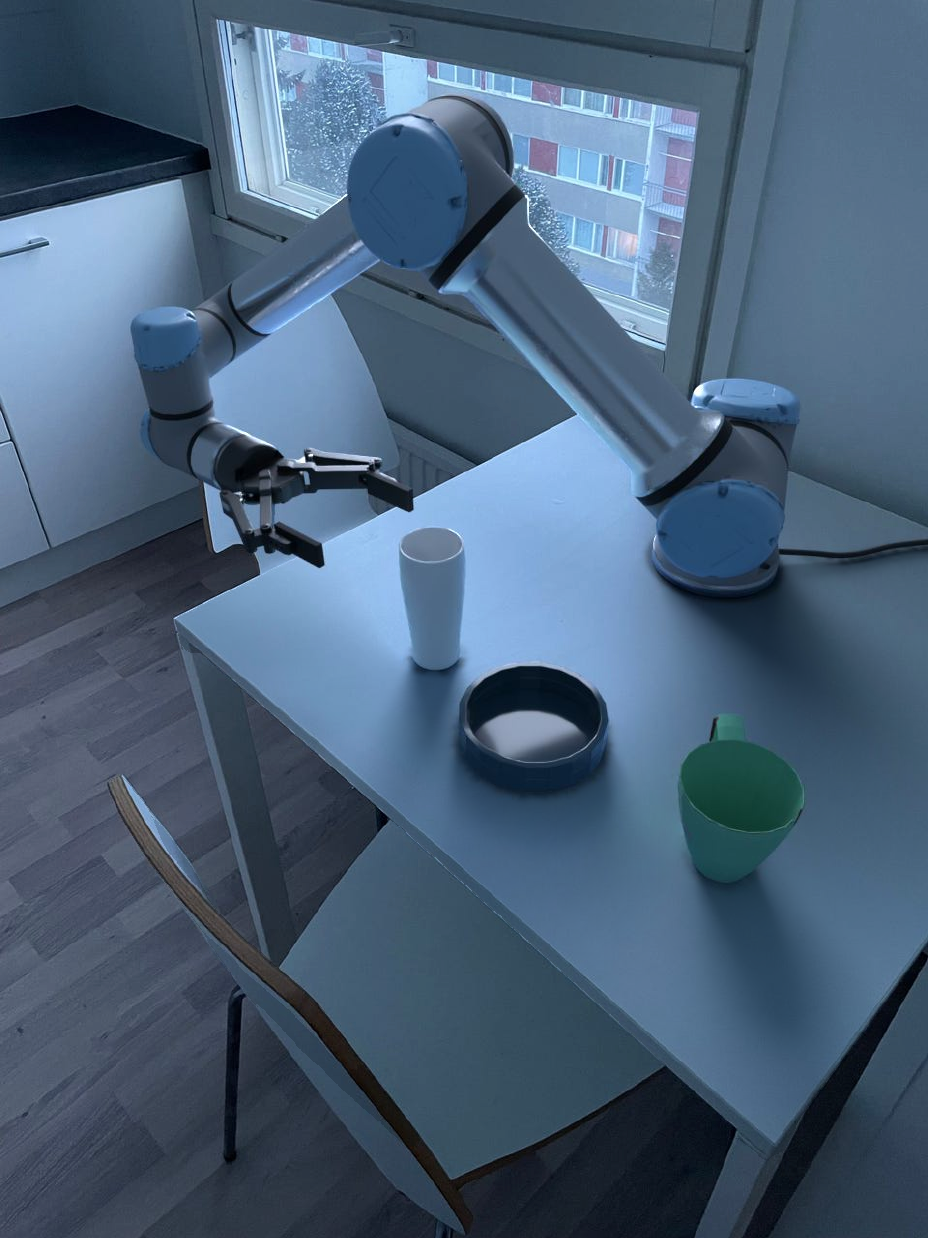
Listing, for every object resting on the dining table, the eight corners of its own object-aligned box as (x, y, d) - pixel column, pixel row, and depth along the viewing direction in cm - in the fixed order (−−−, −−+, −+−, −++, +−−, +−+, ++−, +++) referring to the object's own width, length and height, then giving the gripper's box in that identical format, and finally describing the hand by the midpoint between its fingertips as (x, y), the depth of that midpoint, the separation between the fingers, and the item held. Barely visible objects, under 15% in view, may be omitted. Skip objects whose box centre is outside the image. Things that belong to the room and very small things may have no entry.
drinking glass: (445, 685, 95) (441, 571, 85) (393, 663, 98) (384, 550, 88) (478, 649, 99) (478, 537, 90) (427, 629, 102) (422, 518, 92)
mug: (786, 915, 73) (815, 839, 67) (665, 902, 74) (682, 827, 68) (763, 778, 84) (786, 703, 78) (658, 769, 85) (672, 694, 79)
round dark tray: (597, 687, 94) (600, 661, 92) (612, 793, 83) (616, 768, 81) (461, 686, 95) (460, 661, 92) (458, 793, 83) (457, 767, 81)
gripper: (321, 453, 115) (445, 508, 104) (158, 537, 100) (283, 611, 90) (314, 399, 110) (443, 451, 100) (142, 479, 96) (272, 550, 85)
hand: (368, 527), depth 95 cm, fingers open, 13 cm apart
